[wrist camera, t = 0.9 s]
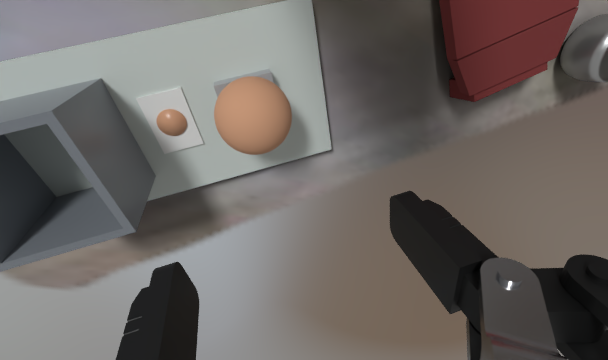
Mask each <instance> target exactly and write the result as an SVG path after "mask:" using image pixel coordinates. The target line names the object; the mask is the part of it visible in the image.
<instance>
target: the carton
mask: <svg viewBox="0 0 608 360" xmlns="http://www.w3.org/2000/svg"><path fill="white" fill-rule="evenodd" d="M439 3H440V10H441V18H442V25H443V32H444V39H445V46H446V53H447V60H448V62H449V64H450V67H451V69H452V72H453V75H454V78H452V79H450V80H449V86H450V97H452V98H457V99H462V100H467V101H472V102H476V101H478V100H480V99H482V98H484V97H487V96H489V95H491V94H493V93H496V92H498V91H500V90H502V89H505V88H507V87H509V86H511V85H513V84H516V83H518V82H520V81H522V80H525V79H527V78H529V77H531V76H534V75H536V74H538V73H540V72H543V71H545V70H547V62H548V61H550V60H552V59H554V58H556V57H557V55H558V53H559V50H560V48H561V46H562V44H563V41H564V39H565V37H566V35H567V32H568V30H569V28H570V25H571V23H572V21H573V19H574V16H575V14H576V12H577V10H578V8H577V6H578V4H579V0H439Z"/></svg>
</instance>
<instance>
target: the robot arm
mask: <svg viewBox="0 0 608 360" xmlns="http://www.w3.org/2000/svg"><path fill="white" fill-rule="evenodd" d="M390 228H391V233H392V235H393V237H394V239H395V241H396V242H397V243H398V245H399V246H400V247H401V249H402V250H403V252H404V253H405V254H406V256H407V257H408V258H409V260H410V261H411V262H412V264H413V265H414V266H415V268H416V269H417V270H418V272H419V273H420V274H421V276H422V277H423V278H424V280H425V281H426V282H427V284H428V285H429V287H430V288H431V289H432V290H433V292H434V293H435V295H436V296H437V297H438V299H439V300H440V301H441V303H442V304H443V305H444V307H445V308H446V309H447V311H448V312H449V313H450V314H452V313H455V312H457V311H460V310H462V312H463V313H464V314H465V315H466V317H467V321H466V324H467V325H466V327H467V357H468V360H608V260H607V259H604V258H601V257H597V256H592V255H576V256H573V257H571V258H570V259H569V260H568V261H567V263H566V264H565V266H564V268H541V269H529V268H528V267H526V266H525V265H523V264H522V263H520V262H517V261H515V260H512V259H508V258H499V257H497V256H496V255H495V254H494V253H493V252H491V251H490V250H489V249H488V248H487V247H486V246H485V245H484V244H483V243H482V242H481V241H480V240H478V239H477V238H476V237H475V236H474V235H473V234H472V233H471V232H470V231H469V230H467V229H466V228H465V227H464V226H463V225H461V224H460V222H458V220H456V219H455V218H454V217H452V215H451V214H450V213H449V212H447V210H445V209H444V208H443V207H442V206H441V205H438V204H436V203H434V202H432V201H430V200H425V201H422V200H421V199H420V198H419V197H418V196H417V195H416V194H415V193H413V192H412V191H407V192H404V193H401V194H398V195H394V196H392V197H391V198H390ZM198 314H199V297H198V293H197V290H196V288H195V286H194V284H193V283H192V281H191V280H190V278H189V276H188V275H187V273H186V272H185V270H184V268H183V267H182V265H181V264H180V263H179V262H175V263H172V264H169V265H165V266H162V267H159V268H156V269H155V270H154V271H153V273H152V277H151V281H150V286H149V287H146V288H143V289H141V291H140V292H139V294H138V295H137V297H136V298H135V300H134V301H133V303H132V305H131V309H130V312H129V315H128V319H127V321H128V323H126V326H125V330H124V336H123V337H122V340H121V343H120V347H119V350H118V354H117V357H116V360H196V348H197V332H198V316H199V315H198ZM557 349H558V350H559V351H560V352H561V353H562V354H563V355H564V356H565V357H563V356H561V355H560V354H559V352H558V350H557Z"/></svg>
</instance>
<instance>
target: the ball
mask: <svg viewBox="0 0 608 360" xmlns="http://www.w3.org/2000/svg"><path fill="white" fill-rule="evenodd" d="M214 119H215V124H216V128H217V130H218V132H219V134H220V136H221V137H222V139H223V140H224V141H225V142H226V143H227V144H228V145H229V146H230V147H232V148H233V149H235V150H237V151H239V152H241V153H245V154H250V155H258V154H264V153H267V152H270V151H272V150H274V149H275V148H277V147H278V146H279V145H280V144H281V143H282V142H283V141H284V140H285V138H286V137H287V135H288V133H289V130H290V127H291V122H292V112H291V107H290V103H289V101H288V99H287V97H286V95H285V94H284V92H283V91H282V90H281V89H280V88H279V87H278V86H277V85H276V84H274V83H273V82H271V81H269V80H267V79H265V78H261V77H255V76H247V77H242V78H239V79H236V80H234V81H232V82H231V83H229V84H228V85H227V86H226V87H225V88H224V89H223V90H222V91H221V93H220V94H219V96H218V98H217V100H216V104H215V109H214Z"/></svg>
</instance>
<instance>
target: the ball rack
mask: <svg viewBox="0 0 608 360" xmlns="http://www.w3.org/2000/svg"><path fill="white" fill-rule="evenodd" d="M247 76H255V77H261V78H265V79H267V80H269V81H271V82H273V83H274V84H276V85H277V86H278V87H279V88H280V89H281V90H282V91H283V92H284V94H285V95H286V97H287V99H288V101H289V103H290V107H291V112H292V122H291V127H290V130H289V133H288V135H287V137H286V138H285V140H284V141H283V142H282V143H281V144H280V145H279V146H278V147H277V148H275V149H274V150H272V151H270V152H267V153H264V154H258V155H250V154H245V153H241V152H239V151H237V150H235V149H233V148H232V147H230V146H229V145H228V144H227V143H226V142H225V141H224V140H223V139H222V137H221V136H220V134H219V132H218V130H217V128H216V124H215V119H214V109H215V104H216V100H217V98H218V96H219V94H220V93H221V91H222V90H223V89H224V88H225V87H226V86H227V85H228V84H229V83H231V82H232V81H234V80H236V79H239V78H242V77H247ZM331 149H332V148H331V141H330V133H329V126H328V118H327V111H326V103H325V96H324V88H323V80H322V73H321V65H320V58H319V50H318V43H317V35H316V28H315V20H314V13H313V5H312V0H285V1H280V2H275V3H271V4H266V5H261V6H257V7H252V8H247V9H243V10H238V11H233V12H229V13H224V14H219V15H215V16H210V17H206V18H201V19H196V20H192V21H187V22H182V23H178V24H173V25H168V26H164V27H159V28H154V29H150V30H145V31H140V32H136V33H131V34H126V35H122V36H117V37H112V38H108V39H103V40H98V41H94V42H89V43H84V44H80V45H75V46H70V47H66V48H61V49H57V50H52V51H47V52H43V53H38V54H33V55H29V56H24V57H19V58H15V59H10V60H5V61H1V62H0V272H1V271H4V270H8V269H11V268H14V267H18V266H21V265H25V264H28V263H31V262H35V261H38V260H42V259H45V258H49V257H52V256H55V255H59V254H62V253H66V252H69V251H72V250H76V249H79V248H83V247H86V246H90V245H93V244H96V243H100V242H103V241H107V240H110V239H114V238H117V237H120V236H124V235H127V234H131V233H134V232H136V231H137V228H138V225H139V222H140V220H141V217H142V214H143V211H144V208H145V206H146V203H147V201H150V200H154V199H157V198H161V197H165V196H168V195H172V194H175V193H179V192H182V191H186V190H189V189H193V188H196V187H200V186H204V185H207V184H211V183H214V182H218V181H221V180H225V179H228V178H232V177H235V176H239V175H243V174H246V173H250V172H253V171H257V170H260V169H264V168H267V167H271V166H274V165H278V164H282V163H285V162H289V161H292V160H296V159H299V158H303V157H306V156H310V155H314V154H317V153H321V152H324V151H328V150H331Z"/></svg>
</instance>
